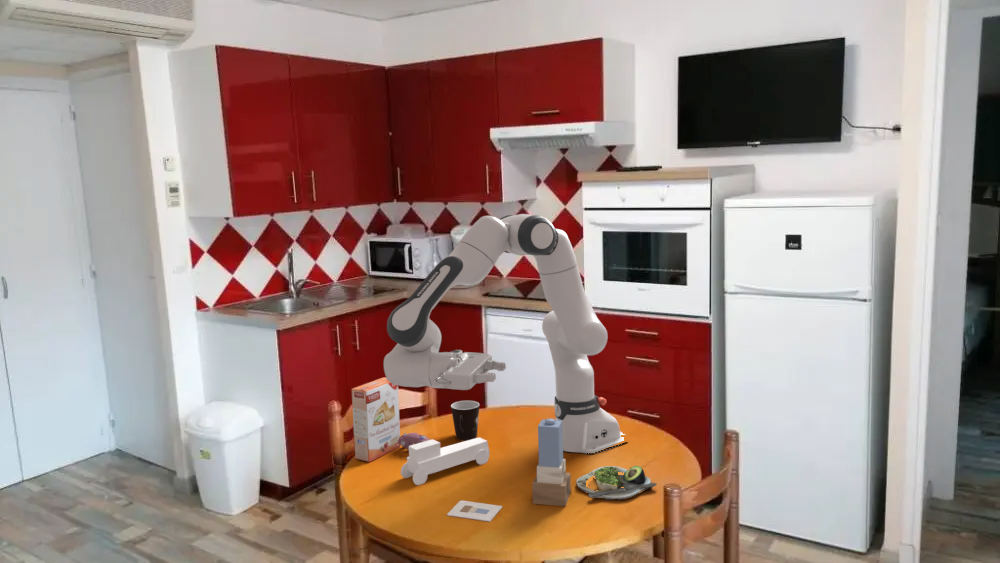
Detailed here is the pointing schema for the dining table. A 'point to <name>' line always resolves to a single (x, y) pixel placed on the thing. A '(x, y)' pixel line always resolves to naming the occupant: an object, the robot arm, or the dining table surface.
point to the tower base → (552, 485)
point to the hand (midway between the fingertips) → (500, 371)
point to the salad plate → (616, 482)
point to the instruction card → (475, 510)
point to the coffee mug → (465, 419)
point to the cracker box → (375, 419)
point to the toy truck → (442, 457)
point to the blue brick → (550, 442)
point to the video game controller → (411, 439)
